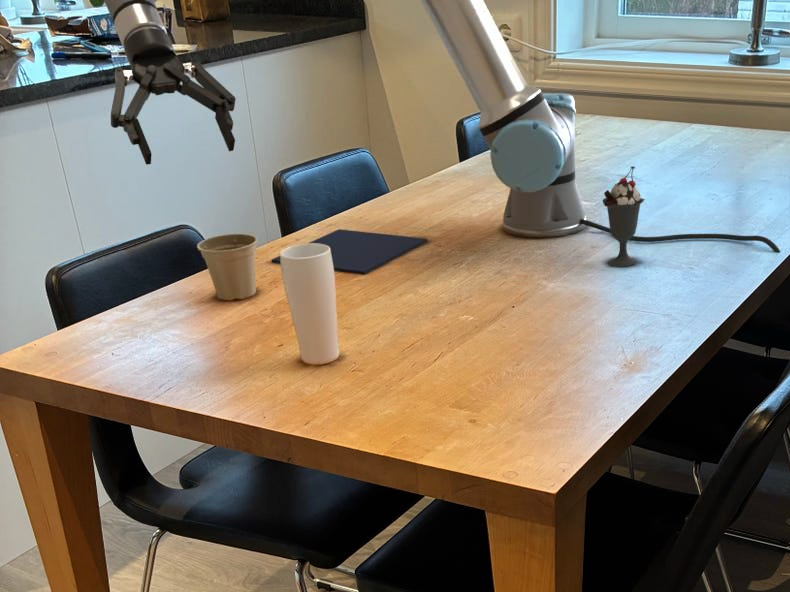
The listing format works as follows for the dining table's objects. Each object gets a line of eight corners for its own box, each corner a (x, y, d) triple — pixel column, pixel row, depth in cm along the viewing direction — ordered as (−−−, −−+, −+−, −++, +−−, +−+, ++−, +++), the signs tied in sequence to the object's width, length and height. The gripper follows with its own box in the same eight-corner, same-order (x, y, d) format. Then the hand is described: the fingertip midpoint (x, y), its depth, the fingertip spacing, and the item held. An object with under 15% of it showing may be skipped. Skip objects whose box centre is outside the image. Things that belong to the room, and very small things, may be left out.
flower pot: (252, 305, 163) (243, 250, 159) (197, 304, 165) (186, 250, 161) (274, 285, 171) (266, 233, 167) (221, 285, 173) (211, 233, 169)
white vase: (297, 351, 145) (280, 245, 137) (346, 347, 145) (332, 240, 138) (294, 370, 139) (276, 260, 132) (344, 366, 140) (330, 255, 132)
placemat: (428, 241, 188) (427, 238, 188) (364, 274, 174) (364, 271, 173) (339, 231, 197) (338, 229, 197) (271, 262, 183) (271, 259, 182)
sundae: (646, 256, 173) (649, 163, 165) (638, 269, 167) (640, 173, 160) (607, 255, 175) (608, 163, 167) (598, 267, 169) (598, 173, 162)
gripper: (217, 50, 178) (262, 154, 174) (68, 68, 168) (112, 179, 164) (222, 17, 171) (268, 125, 168) (66, 34, 161) (112, 149, 157)
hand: (191, 152), depth 166 cm, fingers open, 13 cm apart
